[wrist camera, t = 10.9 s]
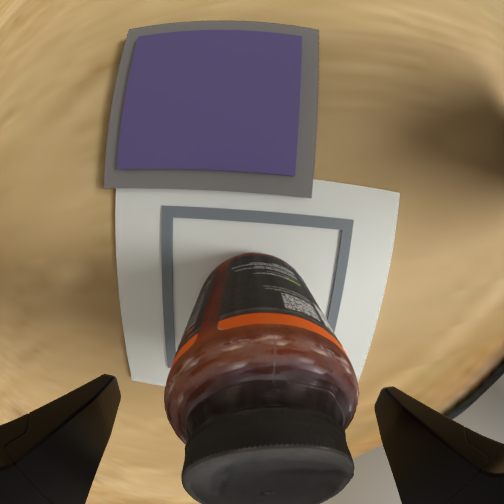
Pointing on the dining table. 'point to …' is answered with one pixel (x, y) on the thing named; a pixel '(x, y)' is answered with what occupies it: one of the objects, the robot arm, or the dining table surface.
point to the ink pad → (215, 108)
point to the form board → (248, 241)
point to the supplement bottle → (261, 390)
